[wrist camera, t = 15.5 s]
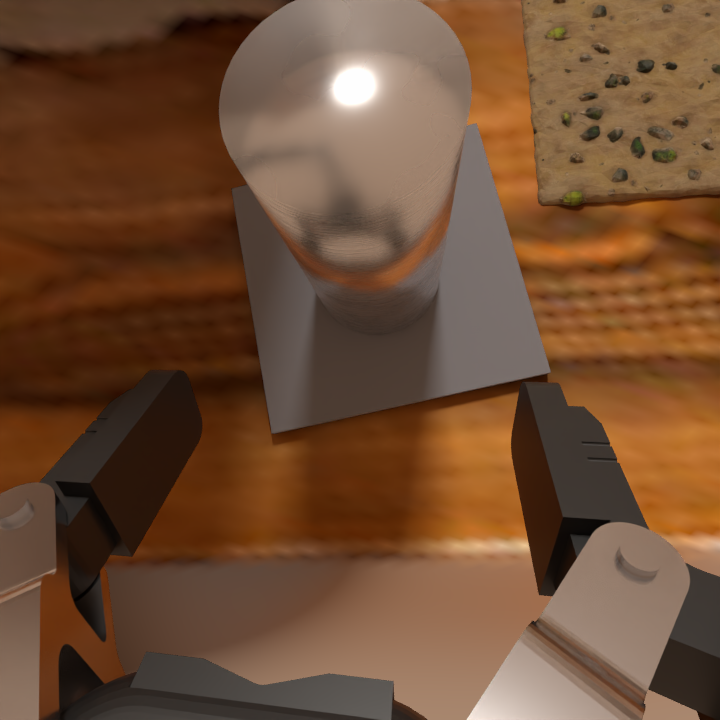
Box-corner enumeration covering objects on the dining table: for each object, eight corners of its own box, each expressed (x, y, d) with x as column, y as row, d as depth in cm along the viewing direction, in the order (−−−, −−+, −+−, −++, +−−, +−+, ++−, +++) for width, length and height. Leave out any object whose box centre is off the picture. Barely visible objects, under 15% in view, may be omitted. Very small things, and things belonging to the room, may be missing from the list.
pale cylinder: (330, 347, 18) (239, 240, 9) (307, 235, 19) (202, 25, 10) (452, 318, 18) (502, 174, 8) (422, 205, 19) (436, -43, 9)
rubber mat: (274, 433, 19) (271, 433, 18) (234, 193, 21) (231, 188, 20) (547, 373, 18) (550, 372, 17) (475, 129, 20) (476, 123, 19)
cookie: (512, -23, 22) (516, -44, 21) (796, -59, 20) (815, -83, 19) (532, 212, 19) (538, 201, 18) (853, 191, 18) (877, 177, 17)
